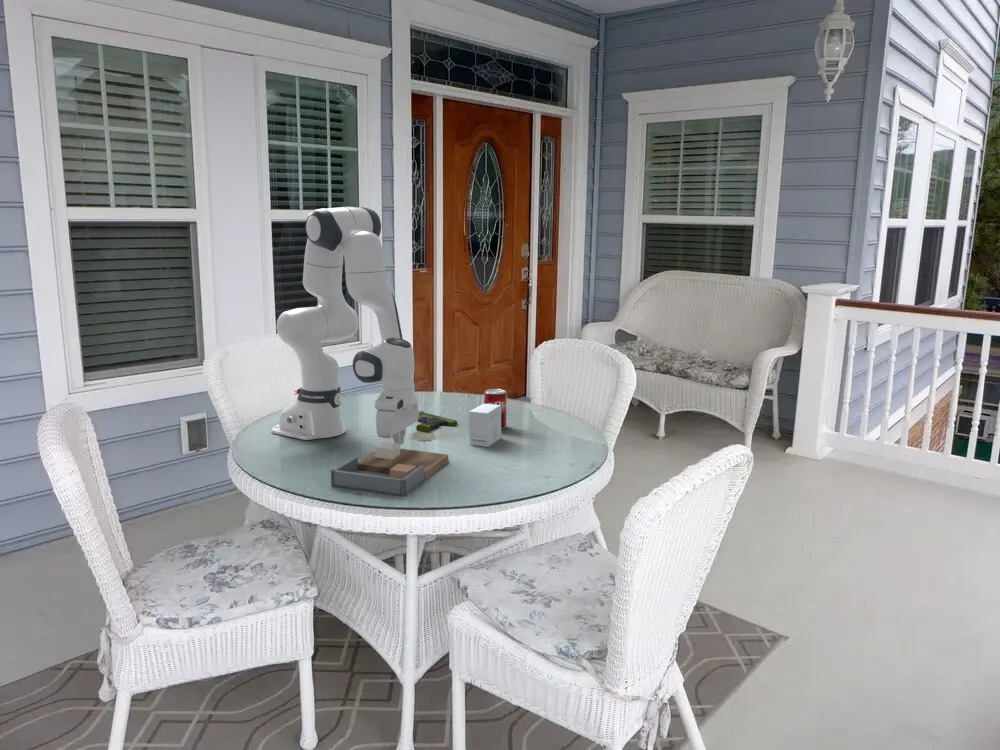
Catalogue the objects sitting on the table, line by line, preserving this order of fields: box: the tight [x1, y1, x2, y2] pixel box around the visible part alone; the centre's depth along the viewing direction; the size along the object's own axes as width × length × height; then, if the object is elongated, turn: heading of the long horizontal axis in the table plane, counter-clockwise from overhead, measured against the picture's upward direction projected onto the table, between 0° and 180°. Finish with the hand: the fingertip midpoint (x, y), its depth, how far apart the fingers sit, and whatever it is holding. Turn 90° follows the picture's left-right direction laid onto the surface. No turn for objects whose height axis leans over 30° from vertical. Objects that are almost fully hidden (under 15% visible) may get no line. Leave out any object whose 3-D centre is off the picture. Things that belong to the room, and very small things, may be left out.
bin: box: [330, 456, 425, 497], centre depth 196 cm, size 20×12×4 cm, turn 72°
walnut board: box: [358, 448, 449, 481], centre depth 210 cm, size 20×16×2 cm
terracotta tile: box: [390, 464, 416, 479], centre depth 199 cm, size 5×5×3 cm
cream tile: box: [374, 441, 401, 459], centre depth 212 cm, size 5×5×3 cm
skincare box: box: [468, 403, 502, 448], centre depth 233 cm, size 10×6×10 cm, turn 157°
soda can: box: [483, 388, 508, 431], centre depth 248 cm, size 7×7×12 cm
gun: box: [415, 410, 459, 433], centre depth 253 cm, size 2×19×15 cm
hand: (399, 444), depth 218 cm, fingers closed
